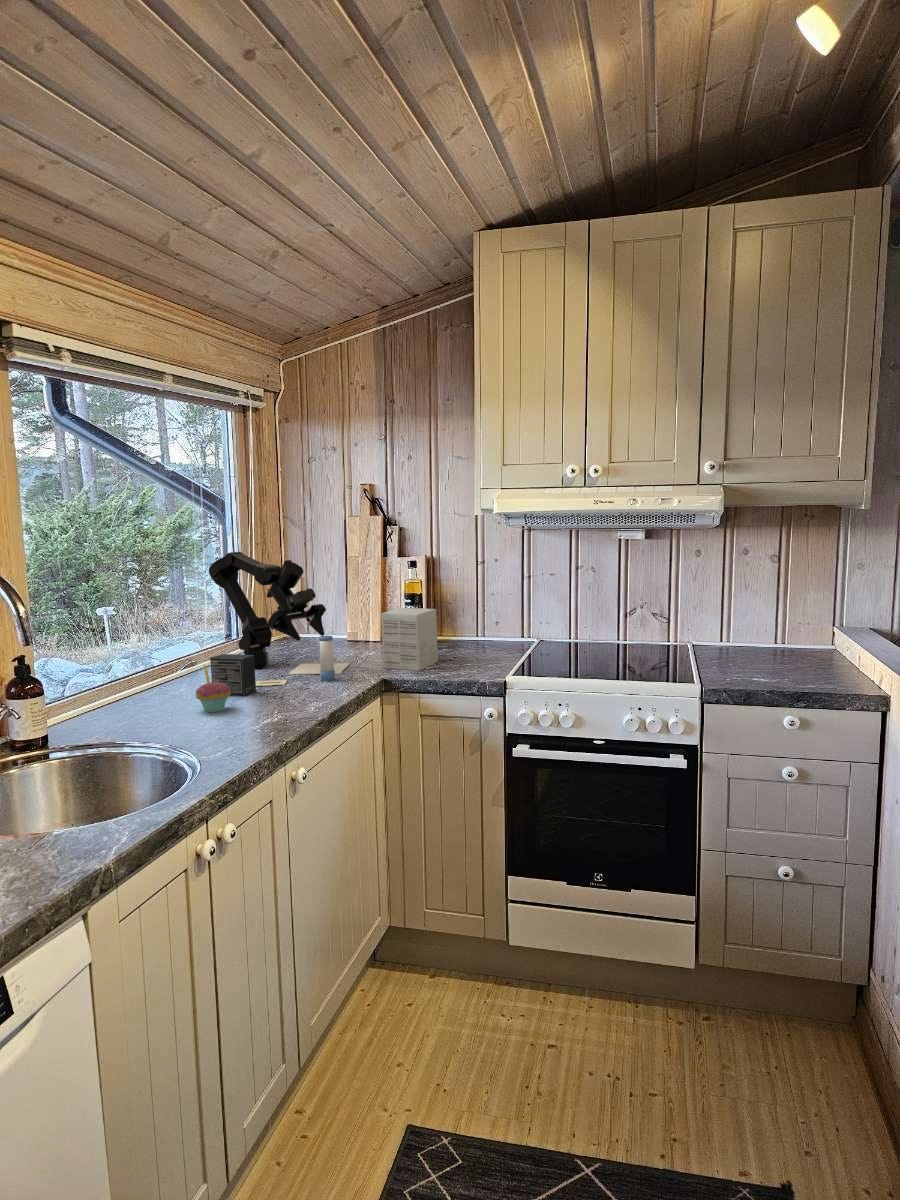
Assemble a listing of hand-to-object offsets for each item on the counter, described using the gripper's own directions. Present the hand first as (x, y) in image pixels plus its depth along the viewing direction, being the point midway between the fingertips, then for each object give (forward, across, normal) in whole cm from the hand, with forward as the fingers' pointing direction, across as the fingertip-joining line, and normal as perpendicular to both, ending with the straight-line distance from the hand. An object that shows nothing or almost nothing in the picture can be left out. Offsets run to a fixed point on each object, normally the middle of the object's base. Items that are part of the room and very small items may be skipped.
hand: (311, 637), depth 231 cm
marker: (+13, 0, +4) cm, 14 cm away
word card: (+5, -12, +12) cm, 18 cm away
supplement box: (+18, +29, 0) cm, 34 cm away
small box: (+6, -25, +12) cm, 28 cm away
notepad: (+3, +10, +14) cm, 17 cm away
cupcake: (+14, -39, +4) cm, 41 cm away
